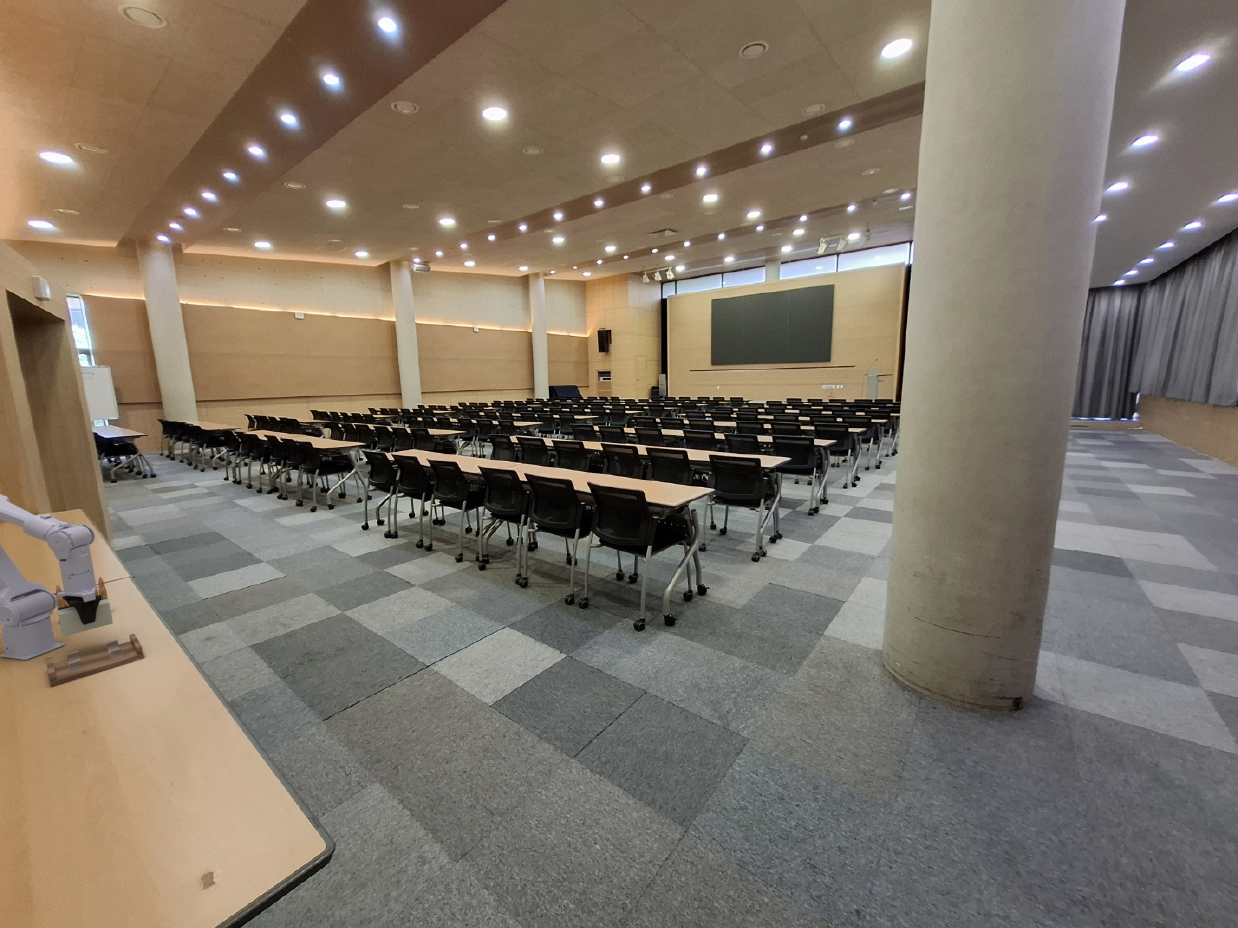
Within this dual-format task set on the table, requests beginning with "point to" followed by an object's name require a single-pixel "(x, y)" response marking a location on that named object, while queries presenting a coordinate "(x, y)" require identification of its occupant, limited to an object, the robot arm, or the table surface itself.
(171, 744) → the table surface
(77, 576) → the robot arm
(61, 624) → the tapered sage green block
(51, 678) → the brown wooden holder
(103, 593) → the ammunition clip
